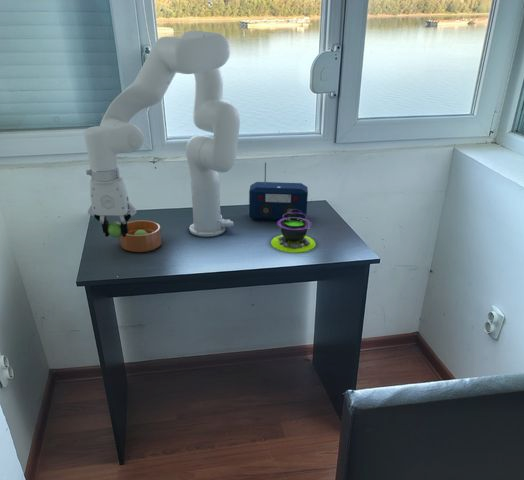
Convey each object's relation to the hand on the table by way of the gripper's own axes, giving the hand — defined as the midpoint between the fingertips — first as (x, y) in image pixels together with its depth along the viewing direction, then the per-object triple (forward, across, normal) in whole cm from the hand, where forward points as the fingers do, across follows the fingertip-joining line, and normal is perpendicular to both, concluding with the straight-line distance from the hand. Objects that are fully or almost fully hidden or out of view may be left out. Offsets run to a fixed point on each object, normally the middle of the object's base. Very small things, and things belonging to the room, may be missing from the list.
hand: (116, 234), depth 157 cm
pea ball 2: (+6, +4, +12) cm, 14 cm away
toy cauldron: (+10, +54, +16) cm, 58 cm away
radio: (+10, +49, +39) cm, 64 cm away
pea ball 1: (-2, 0, 0) cm, 2 cm away
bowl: (+9, +4, +12) cm, 16 cm away
